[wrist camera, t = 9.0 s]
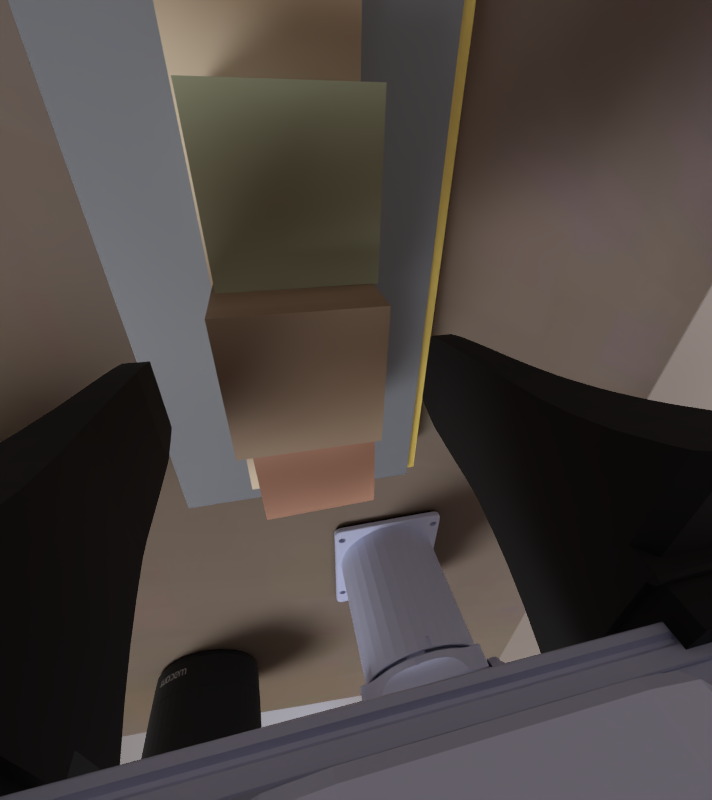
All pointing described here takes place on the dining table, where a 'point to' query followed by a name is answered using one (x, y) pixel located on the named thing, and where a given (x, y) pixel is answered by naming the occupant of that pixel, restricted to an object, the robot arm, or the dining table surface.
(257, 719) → the pen holder
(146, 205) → the dock
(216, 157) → the block
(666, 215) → the dining table surface
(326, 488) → the block
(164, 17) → the board
